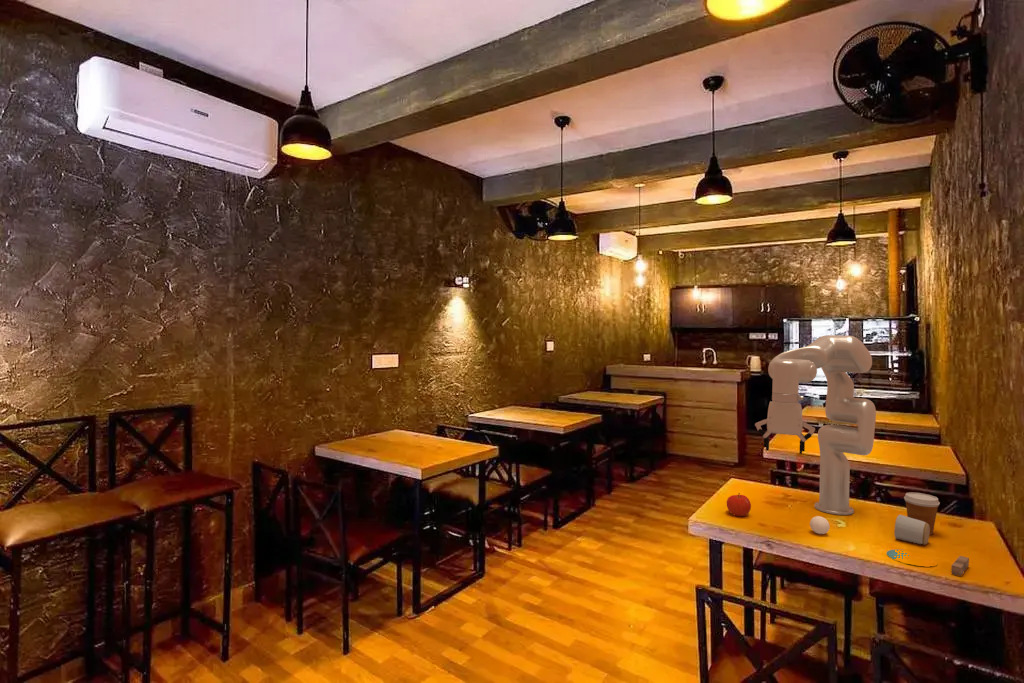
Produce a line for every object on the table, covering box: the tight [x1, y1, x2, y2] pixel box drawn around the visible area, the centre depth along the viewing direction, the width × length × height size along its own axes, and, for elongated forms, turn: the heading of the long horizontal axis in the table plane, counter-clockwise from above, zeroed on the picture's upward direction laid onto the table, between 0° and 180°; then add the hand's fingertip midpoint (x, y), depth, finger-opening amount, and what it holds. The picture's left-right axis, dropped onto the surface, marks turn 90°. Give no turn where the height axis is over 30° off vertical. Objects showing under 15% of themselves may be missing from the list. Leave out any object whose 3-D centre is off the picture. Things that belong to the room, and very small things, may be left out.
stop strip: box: [950, 555, 970, 577], centre depth 151 cm, size 10×2×2 cm, turn 130°
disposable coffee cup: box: [903, 492, 941, 536], centre depth 180 cm, size 10×10×12 cm
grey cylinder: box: [894, 514, 930, 546], centre depth 173 cm, size 11×8×8 cm
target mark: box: [886, 549, 909, 560], centre depth 159 cm, size 12×12×1 cm
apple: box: [726, 492, 752, 517], centre depth 196 cm, size 8×8×8 cm
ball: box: [809, 515, 830, 535], centre depth 178 cm, size 6×6×6 cm
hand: (783, 451), depth 175 cm, fingers open, 9 cm apart
